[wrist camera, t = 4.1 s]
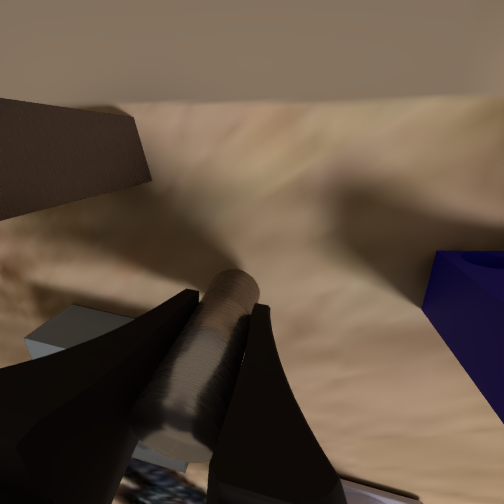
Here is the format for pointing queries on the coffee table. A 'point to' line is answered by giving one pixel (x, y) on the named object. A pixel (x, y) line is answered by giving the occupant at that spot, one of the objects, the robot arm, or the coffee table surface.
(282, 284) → the coffee table surface
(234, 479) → the robot arm
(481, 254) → the blue arched block
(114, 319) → the socket block
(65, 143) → the square bit
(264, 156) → the coffee table surface
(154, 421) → the round bit
